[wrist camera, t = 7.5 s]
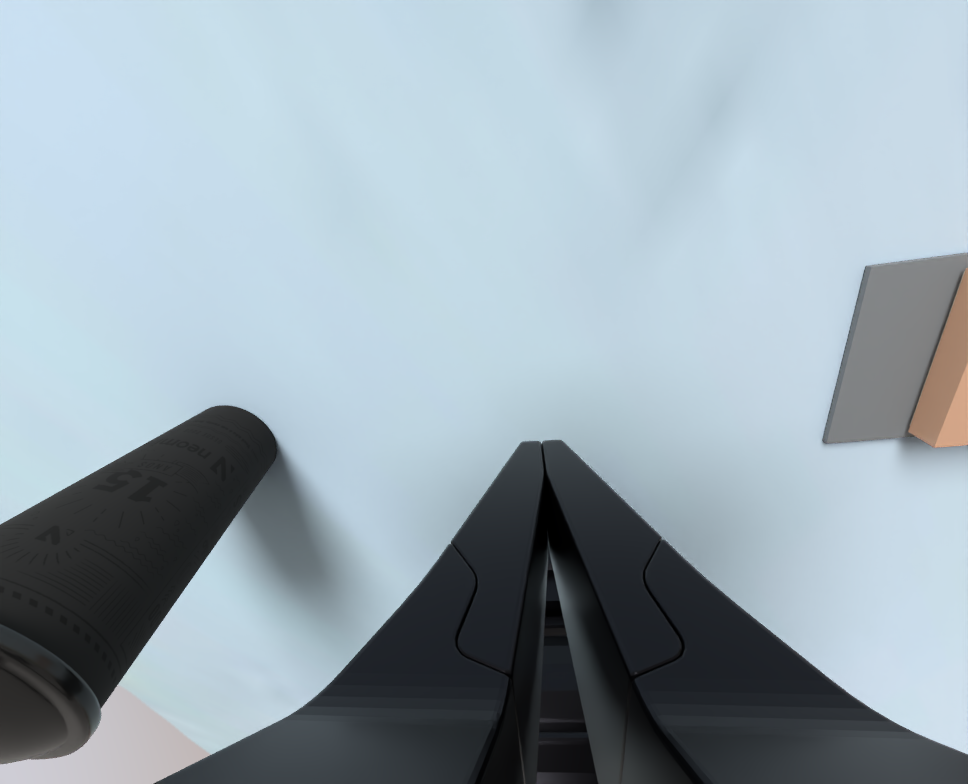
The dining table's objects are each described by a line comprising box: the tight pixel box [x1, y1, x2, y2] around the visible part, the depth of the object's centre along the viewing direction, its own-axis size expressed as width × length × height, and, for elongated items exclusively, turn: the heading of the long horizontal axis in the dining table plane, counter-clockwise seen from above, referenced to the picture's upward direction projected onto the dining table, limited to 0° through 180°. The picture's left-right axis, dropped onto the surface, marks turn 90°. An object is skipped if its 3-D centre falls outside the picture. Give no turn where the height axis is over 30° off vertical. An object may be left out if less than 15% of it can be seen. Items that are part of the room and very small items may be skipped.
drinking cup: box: [0, 406, 276, 764], centre depth 15 cm, size 8×8×20 cm
